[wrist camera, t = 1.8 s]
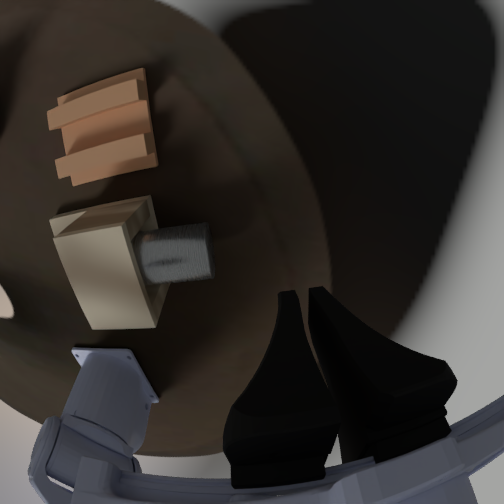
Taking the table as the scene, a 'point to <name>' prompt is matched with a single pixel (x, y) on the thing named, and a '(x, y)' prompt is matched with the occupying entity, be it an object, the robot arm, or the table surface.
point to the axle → (175, 254)
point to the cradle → (105, 128)
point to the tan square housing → (109, 263)
